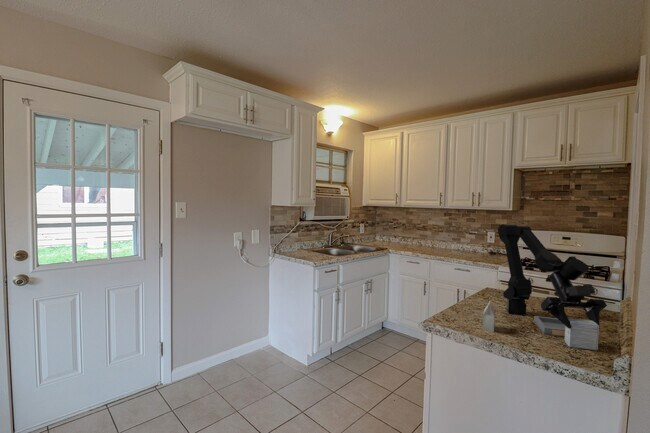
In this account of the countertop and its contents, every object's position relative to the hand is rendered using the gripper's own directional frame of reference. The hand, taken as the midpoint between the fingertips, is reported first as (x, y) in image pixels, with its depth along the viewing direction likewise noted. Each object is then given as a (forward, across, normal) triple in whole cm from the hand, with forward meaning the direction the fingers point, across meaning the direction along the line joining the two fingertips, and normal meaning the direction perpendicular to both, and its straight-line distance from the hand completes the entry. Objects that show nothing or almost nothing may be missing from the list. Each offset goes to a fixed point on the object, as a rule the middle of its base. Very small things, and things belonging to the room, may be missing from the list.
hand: (584, 328), depth 105 cm
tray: (-6, +1, +15) cm, 17 cm away
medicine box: (+4, 0, +6) cm, 7 cm away
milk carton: (-5, -24, +15) cm, 29 cm away
